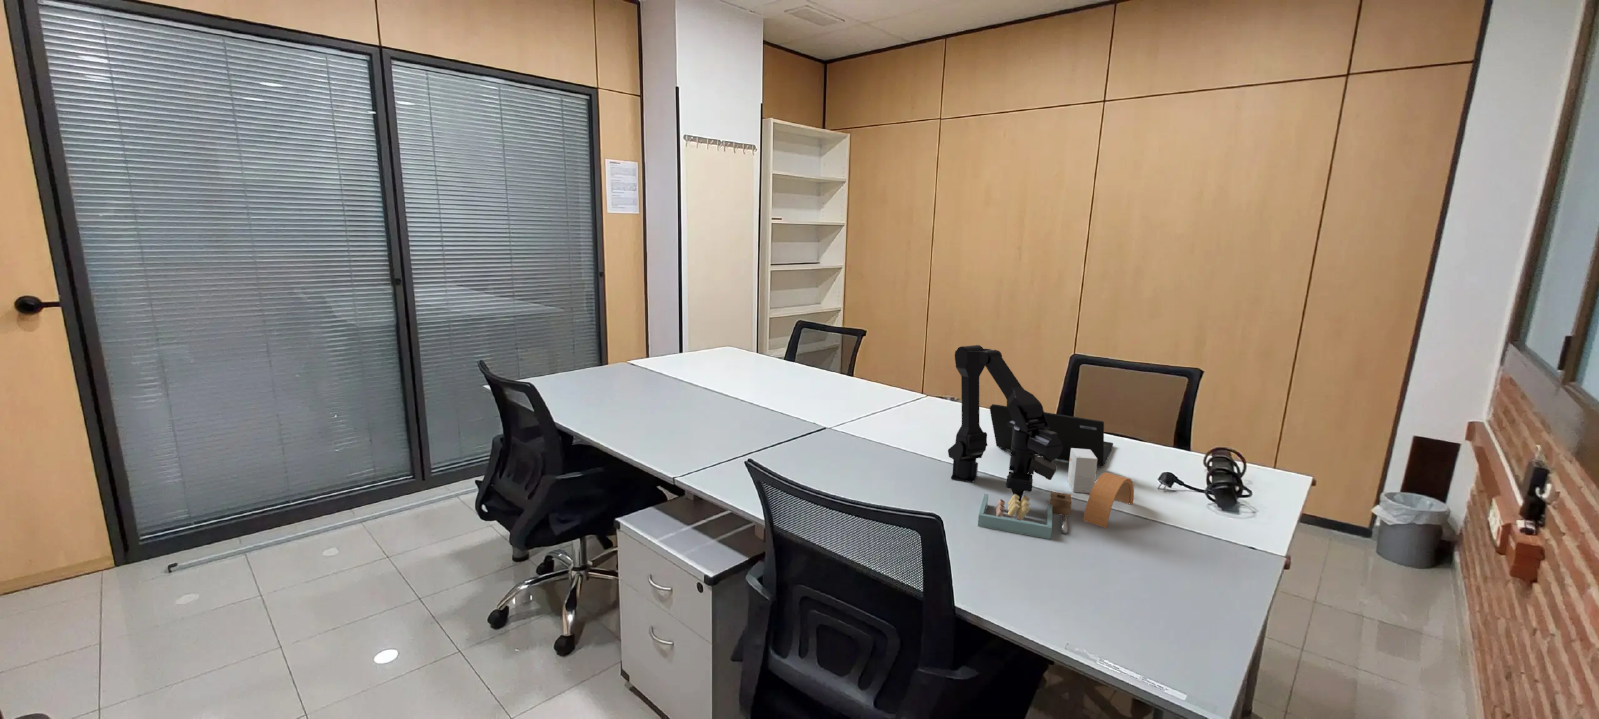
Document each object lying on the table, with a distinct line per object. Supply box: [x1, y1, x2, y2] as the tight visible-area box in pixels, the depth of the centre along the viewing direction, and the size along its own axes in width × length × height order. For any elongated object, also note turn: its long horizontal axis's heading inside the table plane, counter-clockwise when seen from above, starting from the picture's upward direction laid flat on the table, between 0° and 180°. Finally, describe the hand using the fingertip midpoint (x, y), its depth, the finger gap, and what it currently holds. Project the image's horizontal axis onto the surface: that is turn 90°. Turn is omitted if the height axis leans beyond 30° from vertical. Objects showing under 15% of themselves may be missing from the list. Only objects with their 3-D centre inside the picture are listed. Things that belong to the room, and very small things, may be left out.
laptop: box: [989, 403, 1114, 468], centre depth 207 cm, size 33×38×19 cm
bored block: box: [1049, 491, 1072, 517], centre depth 167 cm, size 5×5×4 cm
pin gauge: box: [1060, 515, 1068, 535], centre depth 158 cm, size 1×8×1 cm, turn 158°
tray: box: [977, 493, 1053, 540], centre depth 161 cm, size 17×14×3 cm
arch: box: [1082, 472, 1135, 529], centre depth 166 cm, size 6×20×10 cm, turn 135°
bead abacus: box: [995, 494, 1031, 521], centre depth 164 cm, size 5×7×8 cm
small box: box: [1067, 448, 1098, 494], centre depth 181 cm, size 8×6×10 cm
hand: (1017, 502), depth 169 cm, fingers closed
